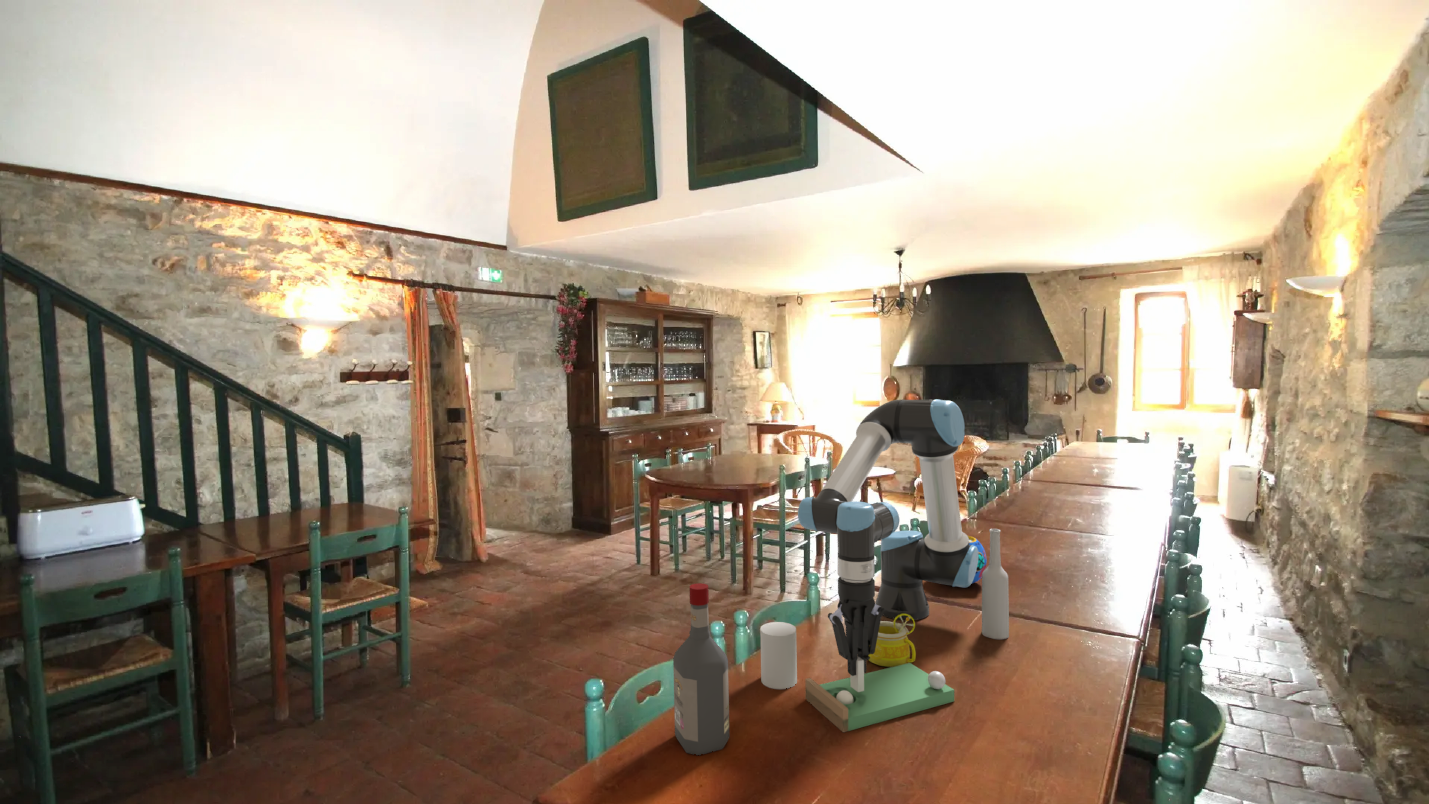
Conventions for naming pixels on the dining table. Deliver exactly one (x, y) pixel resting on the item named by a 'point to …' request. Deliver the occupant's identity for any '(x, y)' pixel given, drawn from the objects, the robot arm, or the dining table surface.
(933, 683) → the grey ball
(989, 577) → the bottle
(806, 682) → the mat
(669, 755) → the dining table surface
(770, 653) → the cup
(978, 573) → the blue painted round piece
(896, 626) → the mug
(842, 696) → the ball
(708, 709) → the liquor
